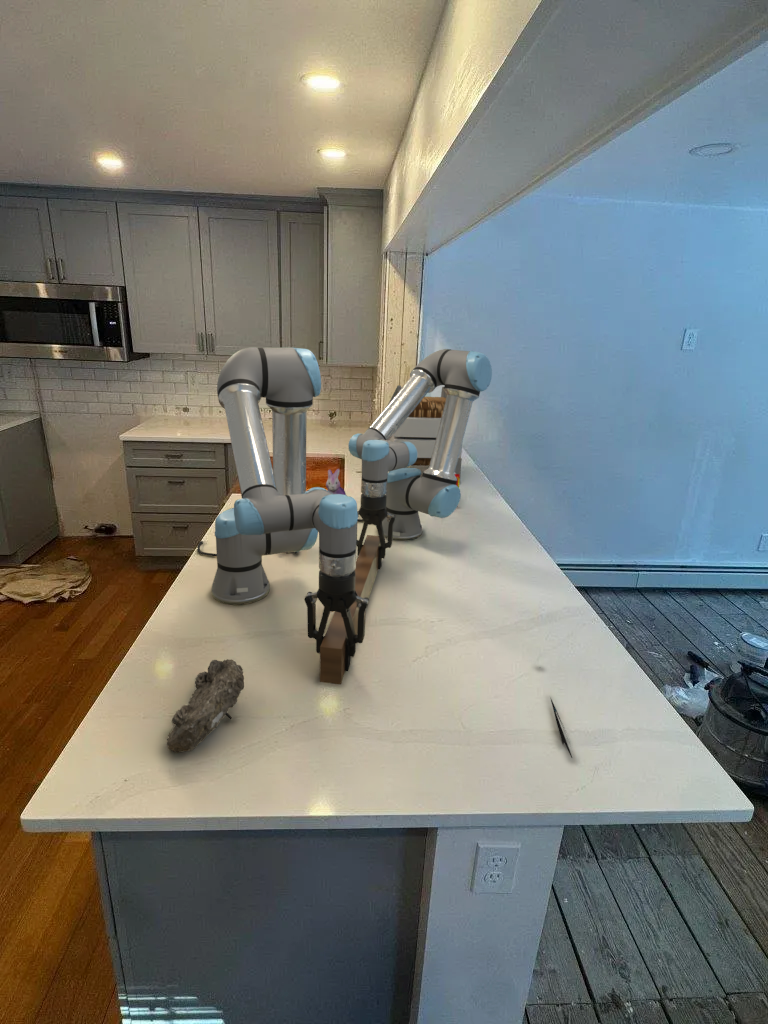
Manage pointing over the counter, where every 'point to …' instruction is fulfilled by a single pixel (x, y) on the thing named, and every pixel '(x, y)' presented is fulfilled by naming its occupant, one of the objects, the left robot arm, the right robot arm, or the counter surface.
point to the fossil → (206, 705)
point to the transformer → (423, 428)
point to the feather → (560, 728)
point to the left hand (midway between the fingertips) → (335, 666)
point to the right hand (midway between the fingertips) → (371, 566)
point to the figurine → (334, 483)
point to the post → (336, 632)
